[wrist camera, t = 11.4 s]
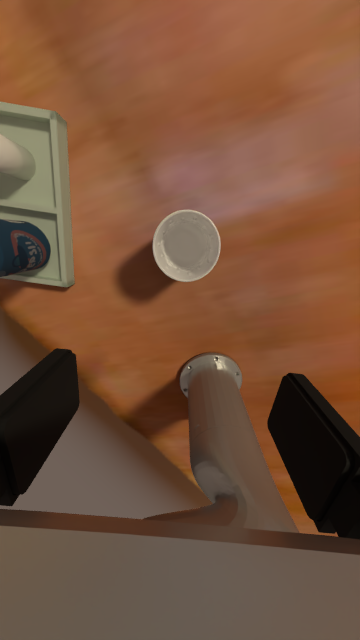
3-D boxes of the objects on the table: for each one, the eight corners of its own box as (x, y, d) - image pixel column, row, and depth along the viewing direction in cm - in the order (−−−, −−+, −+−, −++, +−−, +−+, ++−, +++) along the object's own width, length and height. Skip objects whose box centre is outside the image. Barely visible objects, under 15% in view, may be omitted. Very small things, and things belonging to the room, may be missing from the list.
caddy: (74, 283, 36) (67, 287, 33) (3, 274, 35) (-10, 276, 33) (66, 121, 28) (55, 111, 25) (-27, 105, 27) (-47, 93, 25)
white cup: (165, 272, 35) (158, 285, 26) (156, 221, 32) (146, 215, 23) (211, 266, 34) (222, 277, 25) (207, 213, 32) (218, 204, 22)
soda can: (55, 272, 34) (-6, 289, 23) (12, 263, 34) (-73, 276, 22) (54, 226, 32) (-15, 221, 20) (7, 216, 31) (-90, 205, 20)
